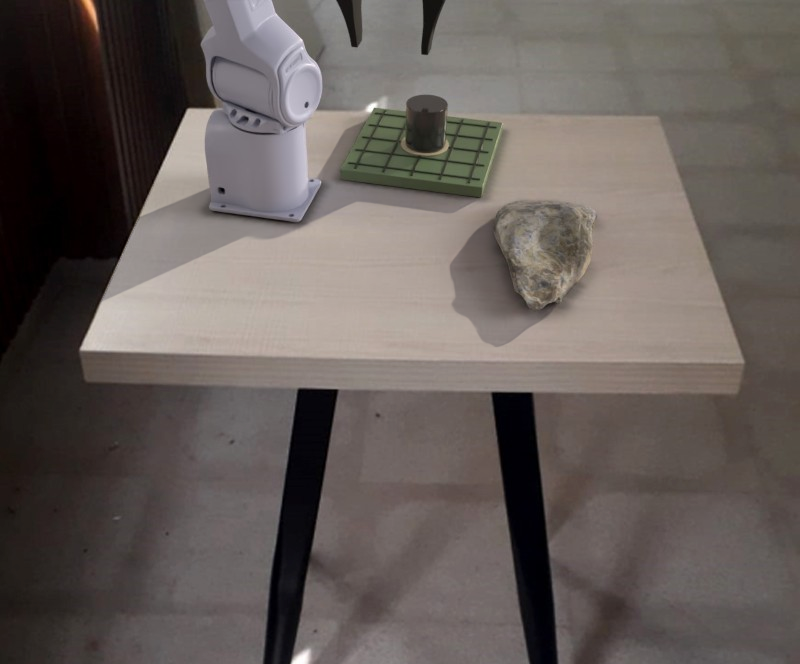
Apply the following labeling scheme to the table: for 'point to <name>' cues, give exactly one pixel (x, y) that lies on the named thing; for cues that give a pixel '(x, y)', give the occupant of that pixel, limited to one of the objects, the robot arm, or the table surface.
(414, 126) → the dark grey cylinder
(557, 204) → the stone
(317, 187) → the robot arm
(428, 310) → the table surface
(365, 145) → the board
